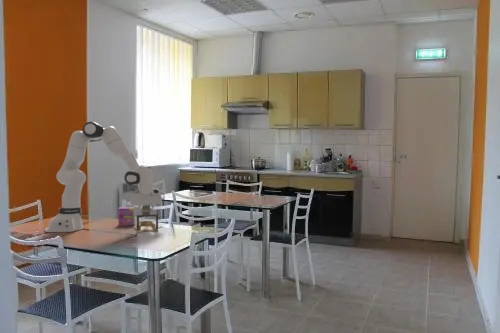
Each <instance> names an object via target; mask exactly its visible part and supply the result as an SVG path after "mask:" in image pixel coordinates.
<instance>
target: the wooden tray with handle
mask: <svg viewBox="0 0 500 333" xmlns="http://www.w3.org/2000/svg"><path fill="white" fill-rule="evenodd" d="M148 217H155V222H154V221H153V220H140V218H148ZM133 228H134V229H135V231H136V233H146V232H147V233H148V232H150V231H151V232H159V214H157V213H156V214H150V215H142V214H137V215H136V225H133Z"/></svg>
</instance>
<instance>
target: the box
mask: <svg viewBox="0 0 500 333" xmlns="http://www.w3.org/2000/svg"><path fill="white" fill-rule="evenodd" d="M117 210H118V211H117V213H118V216H117V217H118V226H135V224H136V207H135V206H129V207H127V206H123V207H121V206H119V207H118V209H117Z"/></svg>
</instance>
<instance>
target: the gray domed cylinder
mask: <svg viewBox="0 0 500 333" xmlns="http://www.w3.org/2000/svg"><path fill="white" fill-rule="evenodd" d="M141 206H142V208H141V209H143V212H141V215H151V212H150V209H151V205H141Z"/></svg>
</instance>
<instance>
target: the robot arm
mask: <svg viewBox="0 0 500 333" xmlns="http://www.w3.org/2000/svg"><path fill="white" fill-rule="evenodd" d="M101 140H102V141H103V142H104V144H105V146H106V147H107V150H108V151H109V153H110V154H112V155H113V156H114V157H117V158H120V159H121V160H123V161H124V163H125V164H126V165H127V167H128V169H129V171H127V172H125V174H124V182H125V183H126V184H127V185H128V186H136V185H137V186H138V190H131V191H130V192H129V199H130V200H129V204H130V205H131V207H134V206H138V208H139V213H142V212H143V209H142V208H141V206H143V205H150V206H151V207H150V213H151V212H153V209H154V208H155V205H162V204H163V197H162V194H161V190H160V188H156V187H154V184H153V182H154V175H153V174H154V172H153V168H152V167H151V166H149V165H145V164H144V165H139V162H137V160H136V159H135V157H134V155H133V154H132V152H131V151H130V149H129V148H128V146H127V145H126V143H125V141H124V139H123V137H122V136H121V134H120V133H119V131H118V130H117V129H116V127H114V126H107V127H103V126H102V125H100V123H98V122H95V121H87V122H86V123H85V124H84V125H83V127H82V130H75V131H73V132H72V134H71V136H70V138H69V142H68V145H67V150H66V156H65V158H64V161H63V163H62V165H61V167H60V169H59V170H58V171H57V173H56V176H55V177H56V180H57V181H58V182H59V184H61V185H65V187H64V190H63V193H62V195H61V207H58V208H57V211H58V214H56V215H55V216H54V217H52V218H51V219H50V220H49V222H48V226H47V227H45V229H44V232H46V233H68V232H69V233H72V232H76V231H80V230H83V229H84V225H83V221H82V206H81V196H82V190H83V187H84V184H85V182H86V181H87V176H86V173H84V171H82V170H80V167H81V165H82V164H83V163H84V161H85V157H86V152H87V147H88V143H90V142H91V143H92V142H99V141H101Z"/></svg>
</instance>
